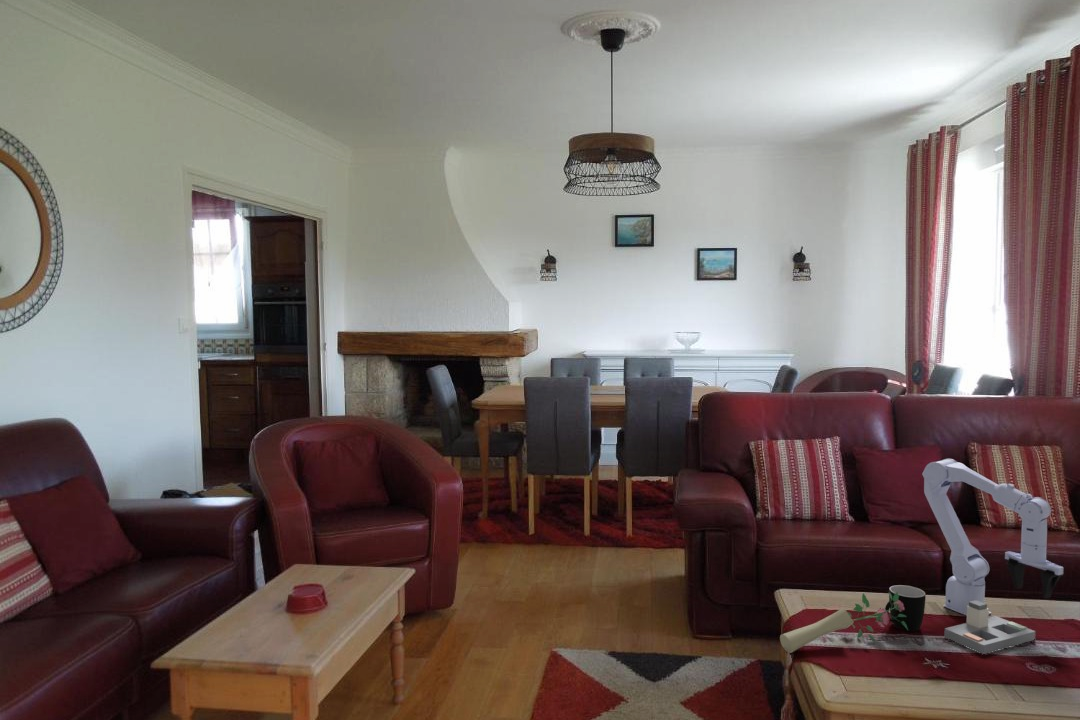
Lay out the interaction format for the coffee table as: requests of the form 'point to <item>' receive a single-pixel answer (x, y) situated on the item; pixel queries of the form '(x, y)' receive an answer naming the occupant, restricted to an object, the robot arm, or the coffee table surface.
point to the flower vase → (837, 625)
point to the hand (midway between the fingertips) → (1032, 592)
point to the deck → (990, 635)
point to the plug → (977, 614)
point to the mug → (907, 607)
